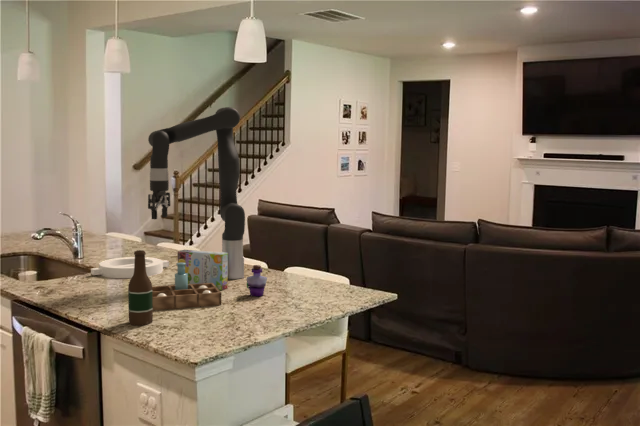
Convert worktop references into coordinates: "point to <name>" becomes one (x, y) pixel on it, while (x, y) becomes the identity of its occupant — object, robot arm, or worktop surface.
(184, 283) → the bud vase
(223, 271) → the snack box
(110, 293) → the worktop surface
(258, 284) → the potion bottle
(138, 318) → the beer bottle
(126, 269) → the white circle with bar
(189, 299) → the crate
